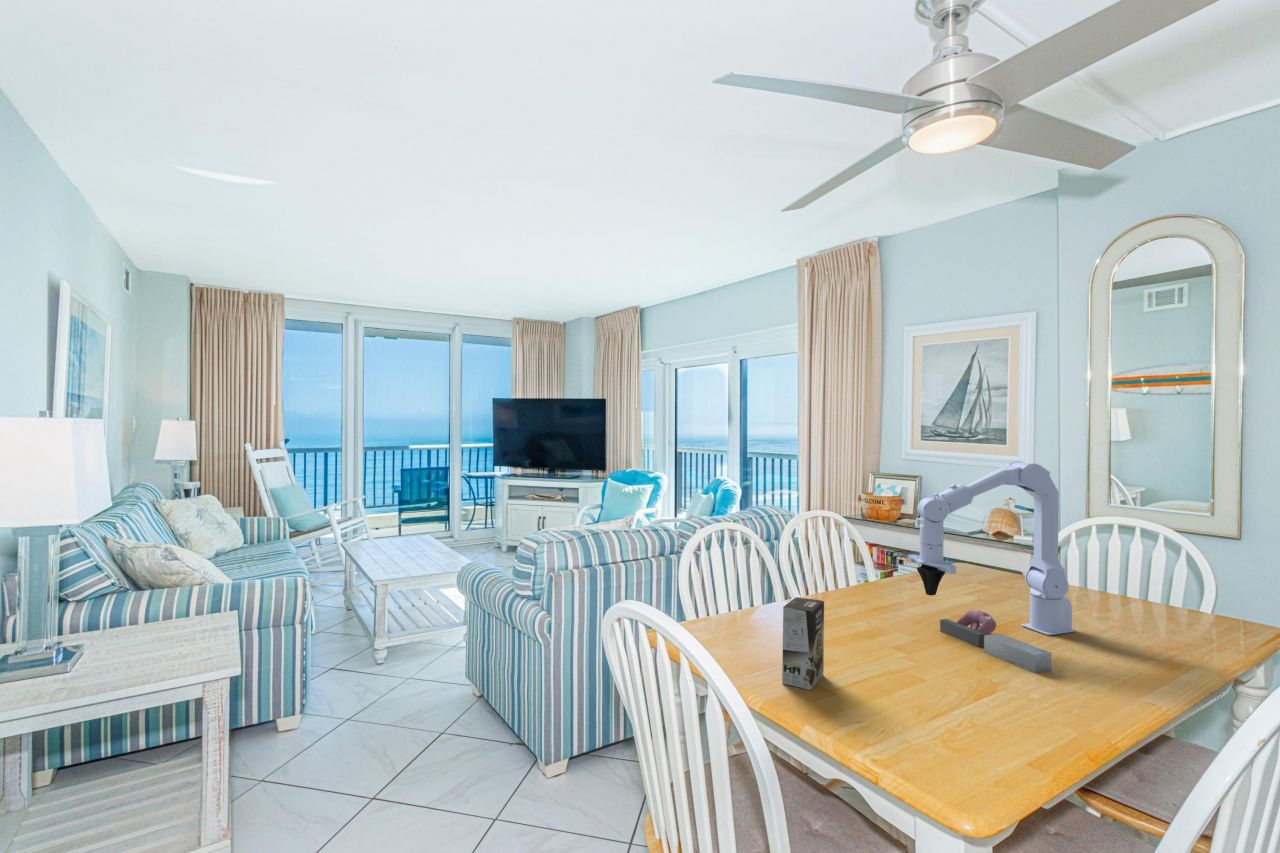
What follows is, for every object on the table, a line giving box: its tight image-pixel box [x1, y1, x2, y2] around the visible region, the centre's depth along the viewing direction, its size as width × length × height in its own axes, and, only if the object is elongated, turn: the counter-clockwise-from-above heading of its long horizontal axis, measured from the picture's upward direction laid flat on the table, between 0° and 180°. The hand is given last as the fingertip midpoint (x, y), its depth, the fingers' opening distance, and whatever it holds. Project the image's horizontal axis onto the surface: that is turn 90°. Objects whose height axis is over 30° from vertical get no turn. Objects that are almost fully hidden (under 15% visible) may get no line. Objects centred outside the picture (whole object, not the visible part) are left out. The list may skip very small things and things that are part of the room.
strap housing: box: [983, 632, 1052, 674], centre depth 142 cm, size 5×13×4 cm, turn 19°
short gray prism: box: [939, 618, 985, 648], centre depth 156 cm, size 2×12×3 cm, turn 19°
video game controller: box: [955, 608, 997, 635], centre depth 160 cm, size 10×5×7 cm, turn 3°
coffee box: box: [781, 597, 825, 691], centre depth 131 cm, size 9×6×16 cm
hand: (930, 594), depth 166 cm, fingers closed
